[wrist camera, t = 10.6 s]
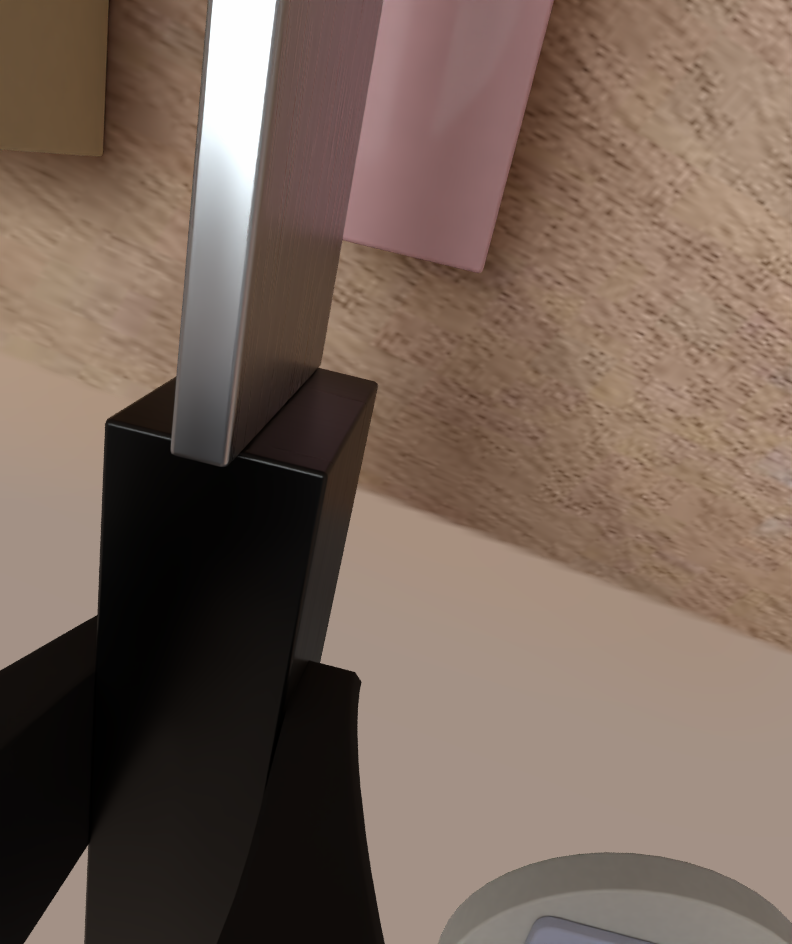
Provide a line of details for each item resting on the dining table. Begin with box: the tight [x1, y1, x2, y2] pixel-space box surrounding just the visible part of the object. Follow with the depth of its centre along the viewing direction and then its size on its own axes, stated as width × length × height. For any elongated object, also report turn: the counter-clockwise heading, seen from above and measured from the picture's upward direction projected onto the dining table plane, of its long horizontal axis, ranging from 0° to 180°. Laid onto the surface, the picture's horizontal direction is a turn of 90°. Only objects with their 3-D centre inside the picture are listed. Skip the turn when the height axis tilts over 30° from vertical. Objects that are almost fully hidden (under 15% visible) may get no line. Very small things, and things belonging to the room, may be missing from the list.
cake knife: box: [84, 0, 383, 944], centre depth 6 cm, size 20×2×3 cm, turn 168°
